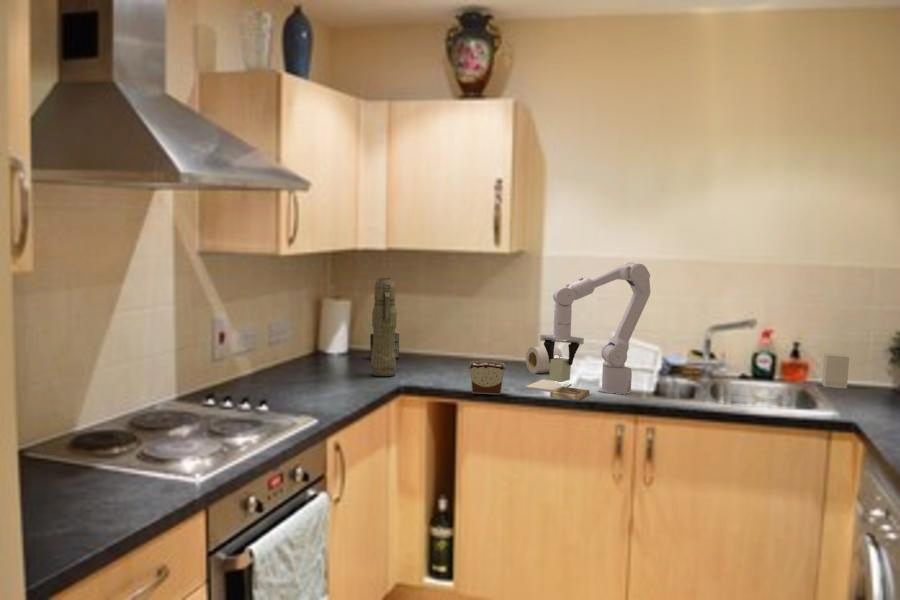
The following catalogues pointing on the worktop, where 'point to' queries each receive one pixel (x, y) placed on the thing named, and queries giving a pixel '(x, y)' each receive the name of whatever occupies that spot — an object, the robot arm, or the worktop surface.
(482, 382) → the food container
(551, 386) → the beige mat
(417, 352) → the worktop surface
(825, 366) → the supplement box
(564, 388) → the wooden square frame
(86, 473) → the worktop surface
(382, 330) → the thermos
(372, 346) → the small box
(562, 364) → the green block
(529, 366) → the toilet paper
